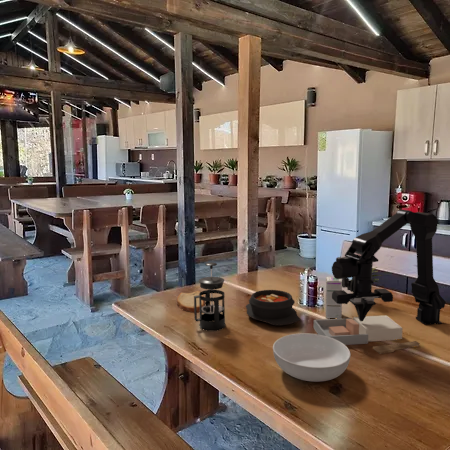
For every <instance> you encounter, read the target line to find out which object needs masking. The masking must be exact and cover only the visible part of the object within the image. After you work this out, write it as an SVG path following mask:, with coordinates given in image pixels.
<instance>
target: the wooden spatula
mask: <svg viewBox="0 0 450 450" xmlns="http://www.w3.org/2000/svg"><path fill="white" fill-rule="evenodd" d="M414 346H417V347H420V342H418V341H417V340H415V341H414V340H413V341H408V342H401V343H399V342H398V343H394V344H393V343H392V344H384V345H377V346H372V349H373V350H374V351H375V352H376V353H378V354H379V355H381V354H387V353H394V352H395V351H397V350H403V349H409V348H408V347H411V348H415V347H414Z"/></svg>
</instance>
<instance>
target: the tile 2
mask: <svg viewBox="0 0 450 450" xmlns="http://www.w3.org/2000/svg"><path fill="white" fill-rule="evenodd" d="M346 329H347V330H348V331H349V335H359V324H358V323H357V322H355V321H354V320H353V318H352V319H346Z"/></svg>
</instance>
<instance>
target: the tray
mask: <svg viewBox="0 0 450 450" xmlns="http://www.w3.org/2000/svg"><path fill="white" fill-rule="evenodd" d="M346 319H353V317H349V318H348V317H346V318H341V319H330V318H326V319H313V329H314V331H315V332H316V333H317V334H318V335H323V336H327V337H330V338H333V339H335V340H338V341H340V342H341V343H343V344H344V345H345V346H347V345H363V344H365V345H366V344H367V345H368V344H369V341H368V334H359V335H339V336H332V335H331V334H330V333H329V327H335V326H344V327H345V328H346Z"/></svg>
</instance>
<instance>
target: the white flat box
mask: <svg viewBox="0 0 450 450" xmlns="http://www.w3.org/2000/svg"><path fill="white" fill-rule="evenodd" d="M352 319H353V320H354V321H355V322H357V323H358V324H359V334H368V342H380V341H381V342H384V341H386V340H387V341H398V340H397V339H402V340H403V327H402V326H401V325H400V324H398V323H397V322H396V321H395V320H393V319H392V318H391V317H389V316H388V315H386V314H385V315H366V317H365V318H364V320H363V321H360V320H359V317H358V316H353V317H352ZM395 339H396V340H395Z"/></svg>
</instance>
